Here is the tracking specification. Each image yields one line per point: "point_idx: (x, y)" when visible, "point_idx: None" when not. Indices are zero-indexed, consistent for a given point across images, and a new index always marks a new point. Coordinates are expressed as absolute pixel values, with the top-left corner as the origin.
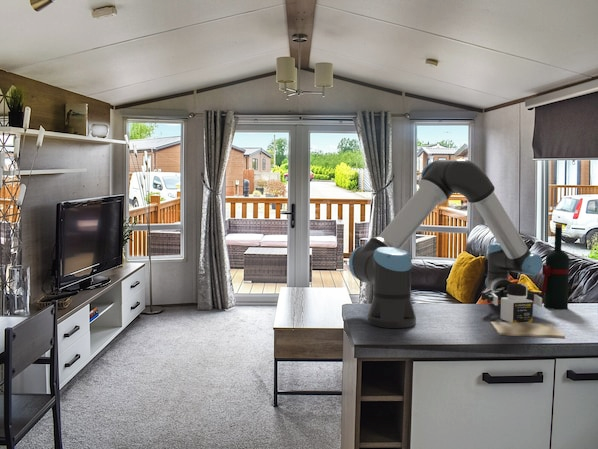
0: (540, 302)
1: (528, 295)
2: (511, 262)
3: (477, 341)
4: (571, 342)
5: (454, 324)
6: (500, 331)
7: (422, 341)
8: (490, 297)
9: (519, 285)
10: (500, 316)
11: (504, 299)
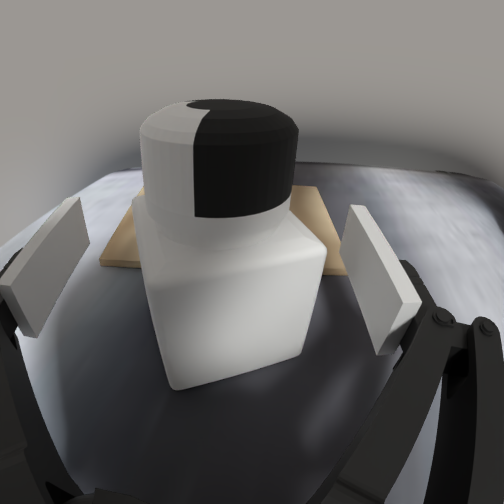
0: (79, 220)
1: (11, 366)
2: None
3: (358, 172)
4: None
5: (452, 257)
6: (314, 194)
7: (440, 178)
8: (403, 263)
9: (218, 99)
10: (303, 344)
11: (304, 225)
